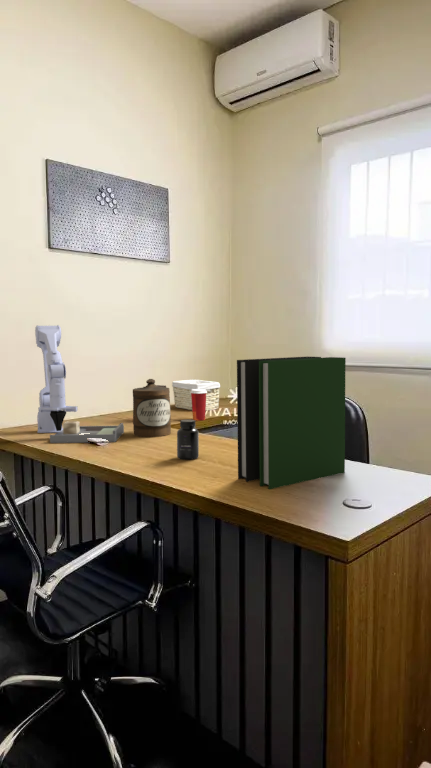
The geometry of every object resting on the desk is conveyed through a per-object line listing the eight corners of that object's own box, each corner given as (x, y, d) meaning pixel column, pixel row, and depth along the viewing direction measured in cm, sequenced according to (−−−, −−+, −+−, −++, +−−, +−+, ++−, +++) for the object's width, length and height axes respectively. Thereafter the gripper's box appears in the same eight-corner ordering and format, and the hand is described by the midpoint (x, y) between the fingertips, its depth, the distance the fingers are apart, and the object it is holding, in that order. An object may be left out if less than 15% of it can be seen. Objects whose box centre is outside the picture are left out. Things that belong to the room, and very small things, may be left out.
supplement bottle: (182, 461, 164) (181, 422, 163) (173, 457, 170) (173, 419, 169) (202, 458, 167) (201, 421, 166) (193, 454, 173) (192, 418, 172)
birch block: (63, 433, 203) (63, 423, 203) (67, 431, 208) (66, 421, 208) (76, 433, 203) (76, 423, 203) (79, 431, 208) (79, 421, 208)
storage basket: (221, 409, 281) (221, 381, 280) (197, 412, 271) (196, 383, 270) (195, 405, 300) (194, 379, 299) (171, 408, 290) (170, 381, 289)
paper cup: (210, 418, 248) (209, 389, 247) (202, 421, 241) (202, 390, 240) (195, 418, 251) (194, 388, 250) (187, 420, 244) (187, 390, 243)
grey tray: (50, 443, 196) (49, 432, 196) (64, 433, 216) (64, 423, 215) (115, 441, 196) (114, 431, 196) (123, 432, 216) (123, 422, 216)
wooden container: (139, 438, 202) (137, 381, 201) (129, 432, 216) (127, 378, 214) (176, 435, 208) (175, 379, 207) (164, 429, 222) (162, 376, 220)
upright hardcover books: (271, 490, 132) (270, 361, 129) (234, 477, 144) (233, 359, 141) (344, 472, 148) (345, 357, 145) (306, 462, 160) (306, 356, 157)
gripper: (35, 396, 200) (36, 432, 202) (73, 396, 200) (75, 431, 202) (41, 394, 207) (42, 429, 209) (78, 394, 207) (79, 428, 209)
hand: (58, 430), depth 206 cm, fingers closed
